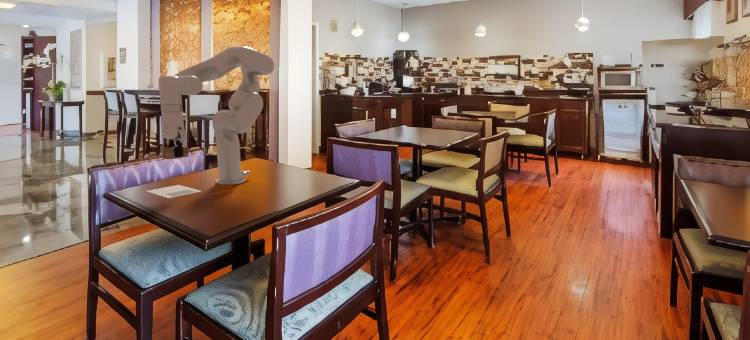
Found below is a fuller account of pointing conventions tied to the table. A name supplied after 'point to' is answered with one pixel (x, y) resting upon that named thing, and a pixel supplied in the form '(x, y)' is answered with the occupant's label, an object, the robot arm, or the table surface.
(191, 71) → the robot arm
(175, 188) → the mat
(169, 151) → the brown block
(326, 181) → the table surface
